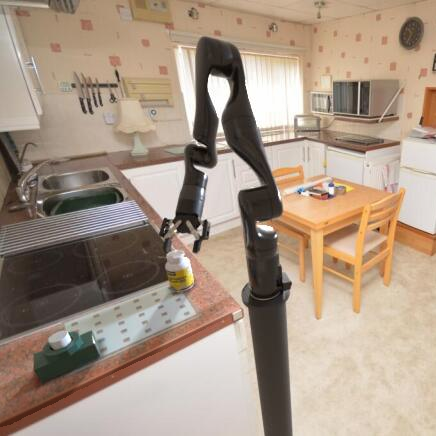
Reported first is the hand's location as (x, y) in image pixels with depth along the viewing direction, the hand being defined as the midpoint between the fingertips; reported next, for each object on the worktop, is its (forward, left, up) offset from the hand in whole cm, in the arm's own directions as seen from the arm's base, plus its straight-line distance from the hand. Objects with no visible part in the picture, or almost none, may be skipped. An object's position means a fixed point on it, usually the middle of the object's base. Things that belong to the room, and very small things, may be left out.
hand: (180, 252), depth 86 cm
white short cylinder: (+24, +20, -5) cm, 32 cm away
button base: (+24, +20, -10) cm, 33 cm away
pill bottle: (+1, +2, -10) cm, 11 cm away
